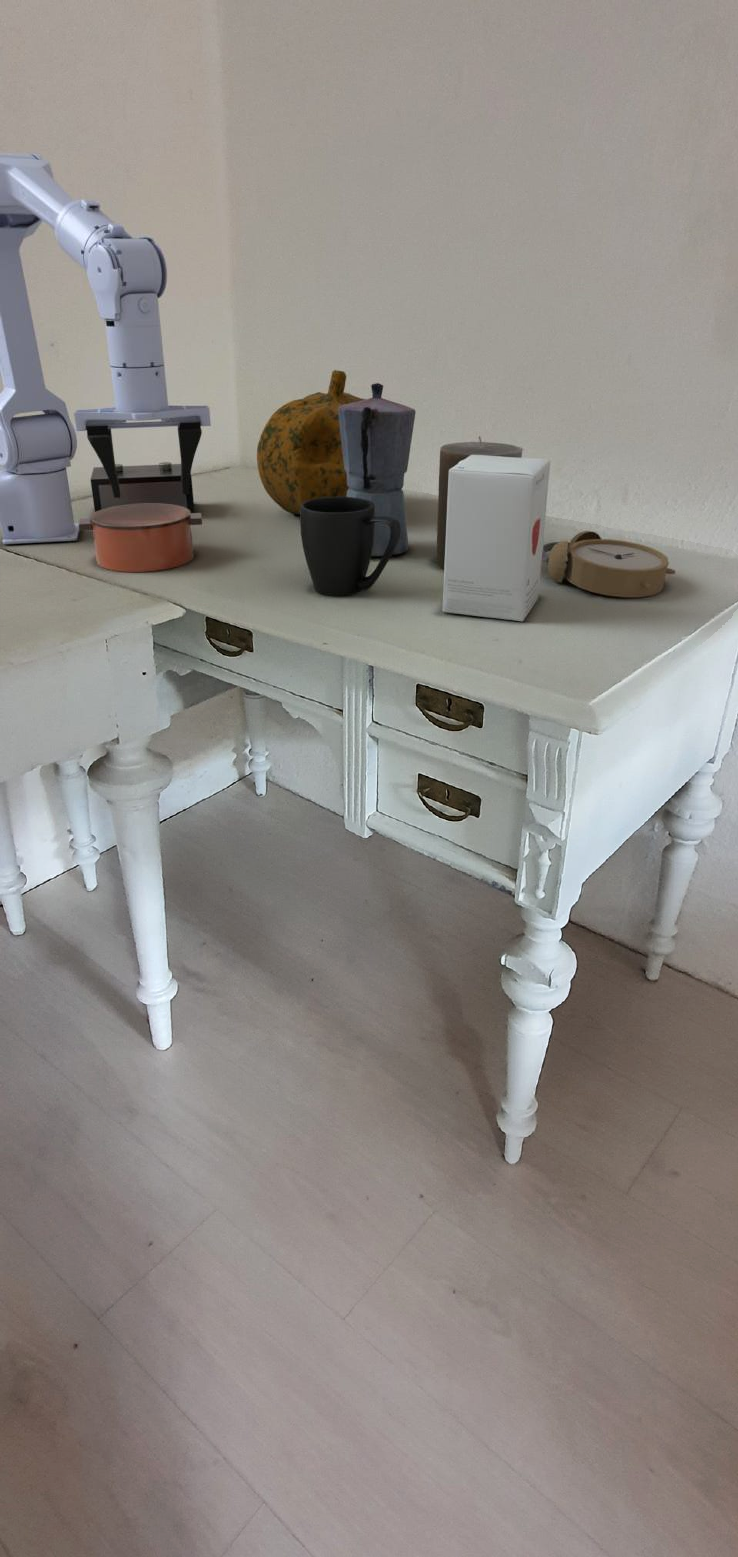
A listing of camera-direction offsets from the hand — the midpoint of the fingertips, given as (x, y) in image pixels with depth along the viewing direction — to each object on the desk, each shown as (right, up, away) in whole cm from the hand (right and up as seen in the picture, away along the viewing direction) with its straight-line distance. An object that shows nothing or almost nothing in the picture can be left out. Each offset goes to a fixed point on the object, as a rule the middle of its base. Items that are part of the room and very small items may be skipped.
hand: (151, 494), depth 111 cm
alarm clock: (+52, -10, +2) cm, 53 cm away
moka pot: (+26, -3, +14) cm, 29 cm away
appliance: (-8, +7, +33) cm, 35 cm away
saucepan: (-3, -5, +11) cm, 13 cm away
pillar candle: (+38, -6, +9) cm, 40 cm away
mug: (+23, -12, -1) cm, 26 cm away
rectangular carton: (+38, -14, -6) cm, 41 cm away
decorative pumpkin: (+19, +7, +32) cm, 38 cm away
